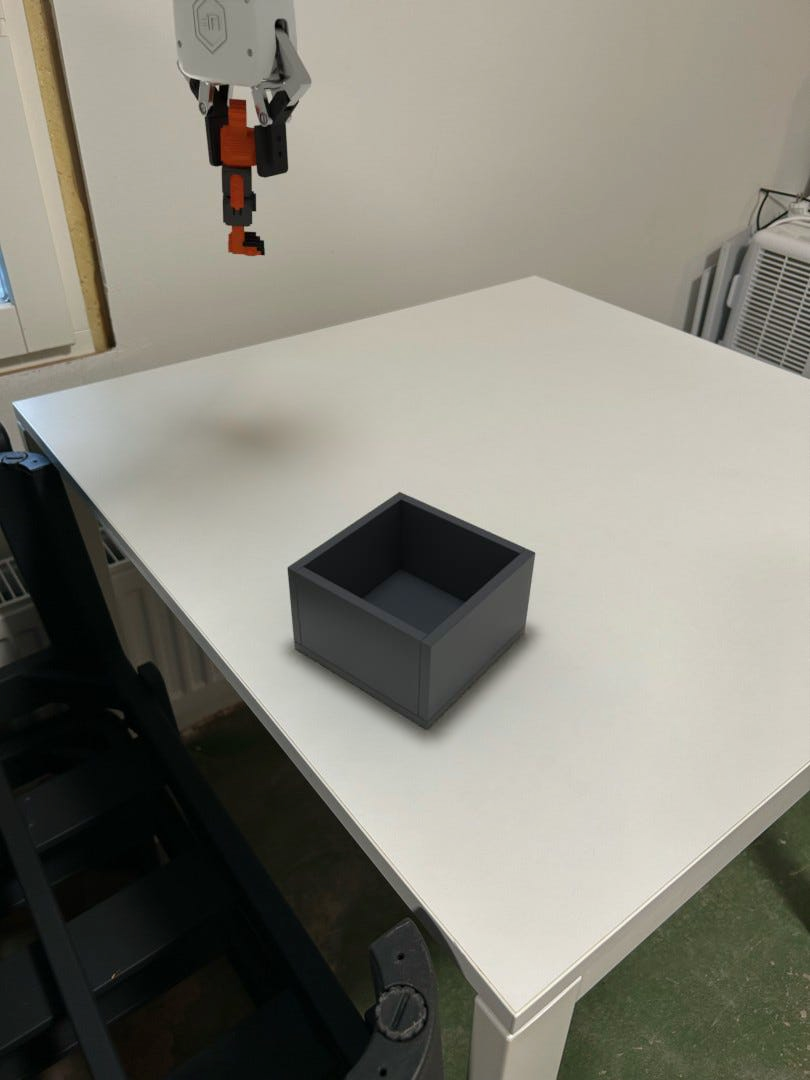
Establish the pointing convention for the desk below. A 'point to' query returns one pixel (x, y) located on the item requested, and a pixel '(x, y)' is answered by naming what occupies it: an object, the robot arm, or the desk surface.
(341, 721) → the desk surface
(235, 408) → the desk surface
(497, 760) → the desk surface
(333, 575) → the bin
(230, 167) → the toy animal
